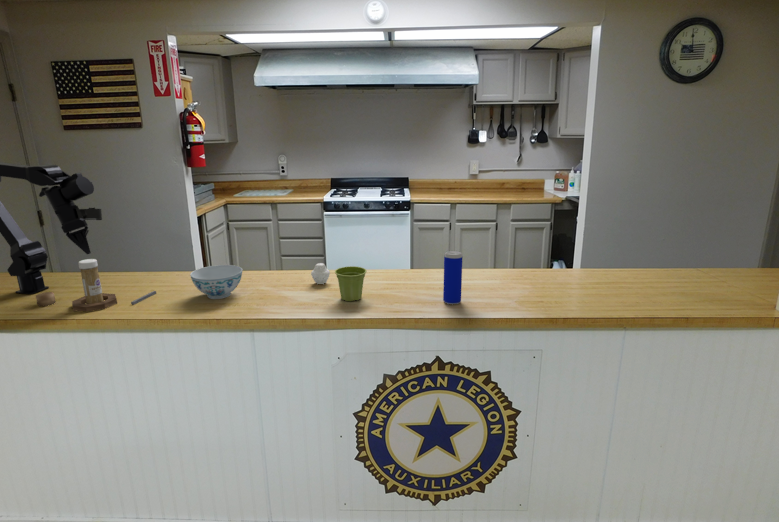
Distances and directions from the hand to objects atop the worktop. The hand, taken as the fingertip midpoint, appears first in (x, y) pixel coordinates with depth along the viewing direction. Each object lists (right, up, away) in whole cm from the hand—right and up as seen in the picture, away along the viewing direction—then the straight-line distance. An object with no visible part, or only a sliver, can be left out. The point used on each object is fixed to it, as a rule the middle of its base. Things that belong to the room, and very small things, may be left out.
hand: (88, 253), depth 146 cm
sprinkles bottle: (+5, -15, -5) cm, 17 cm away
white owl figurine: (+70, -10, +12) cm, 71 cm away
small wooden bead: (-10, -15, -5) cm, 18 cm away
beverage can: (+111, -15, -7) cm, 112 cm away
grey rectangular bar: (+18, -14, -1) cm, 22 cm away
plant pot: (+81, -14, -2) cm, 82 cm away
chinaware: (+40, -13, +1) cm, 42 cm away
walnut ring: (+5, -15, -6) cm, 17 cm away
